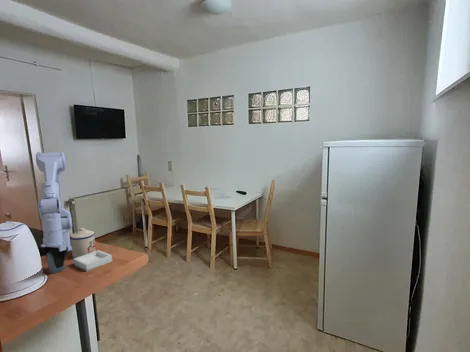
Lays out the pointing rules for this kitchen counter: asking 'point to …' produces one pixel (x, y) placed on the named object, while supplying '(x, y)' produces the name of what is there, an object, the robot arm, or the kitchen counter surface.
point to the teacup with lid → (82, 242)
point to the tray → (92, 260)
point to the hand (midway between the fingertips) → (56, 265)
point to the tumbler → (53, 265)
